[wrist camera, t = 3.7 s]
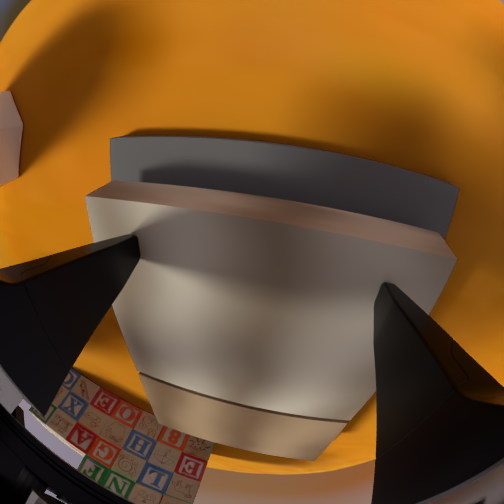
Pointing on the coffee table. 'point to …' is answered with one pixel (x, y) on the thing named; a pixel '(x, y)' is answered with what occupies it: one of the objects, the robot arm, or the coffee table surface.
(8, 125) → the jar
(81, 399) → the stack of blocks
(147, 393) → the oak board
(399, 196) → the underlay mat
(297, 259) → the ash plank
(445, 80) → the coffee table surface
